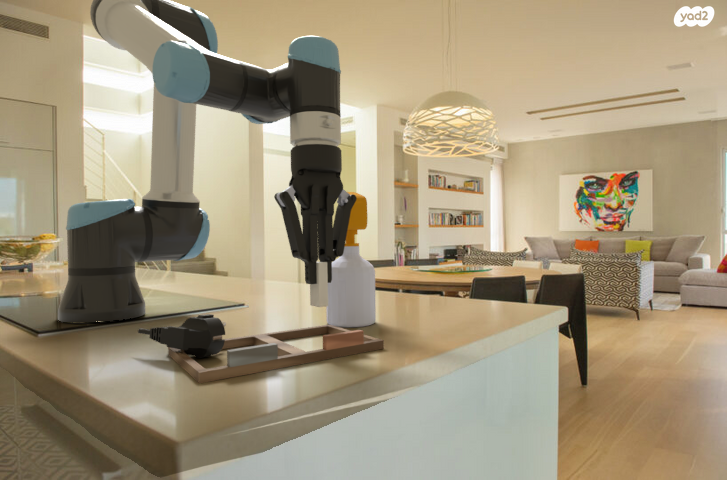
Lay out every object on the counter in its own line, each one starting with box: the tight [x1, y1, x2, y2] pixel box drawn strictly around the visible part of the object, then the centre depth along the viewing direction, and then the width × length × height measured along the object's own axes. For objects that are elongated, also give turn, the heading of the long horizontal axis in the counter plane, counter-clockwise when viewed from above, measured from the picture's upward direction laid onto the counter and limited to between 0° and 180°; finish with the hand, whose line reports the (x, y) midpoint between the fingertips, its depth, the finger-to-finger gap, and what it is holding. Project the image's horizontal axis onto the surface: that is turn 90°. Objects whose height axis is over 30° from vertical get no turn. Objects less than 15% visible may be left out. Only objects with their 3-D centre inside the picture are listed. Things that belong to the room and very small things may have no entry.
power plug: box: [137, 313, 226, 359], centre depth 65 cm, size 6×8×12 cm
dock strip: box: [167, 324, 385, 384], centre depth 66 cm, size 15×26×3 cm, turn 125°
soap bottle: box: [325, 191, 377, 329], centre depth 86 cm, size 9×9×25 cm
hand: (319, 305), depth 69 cm, fingers closed
